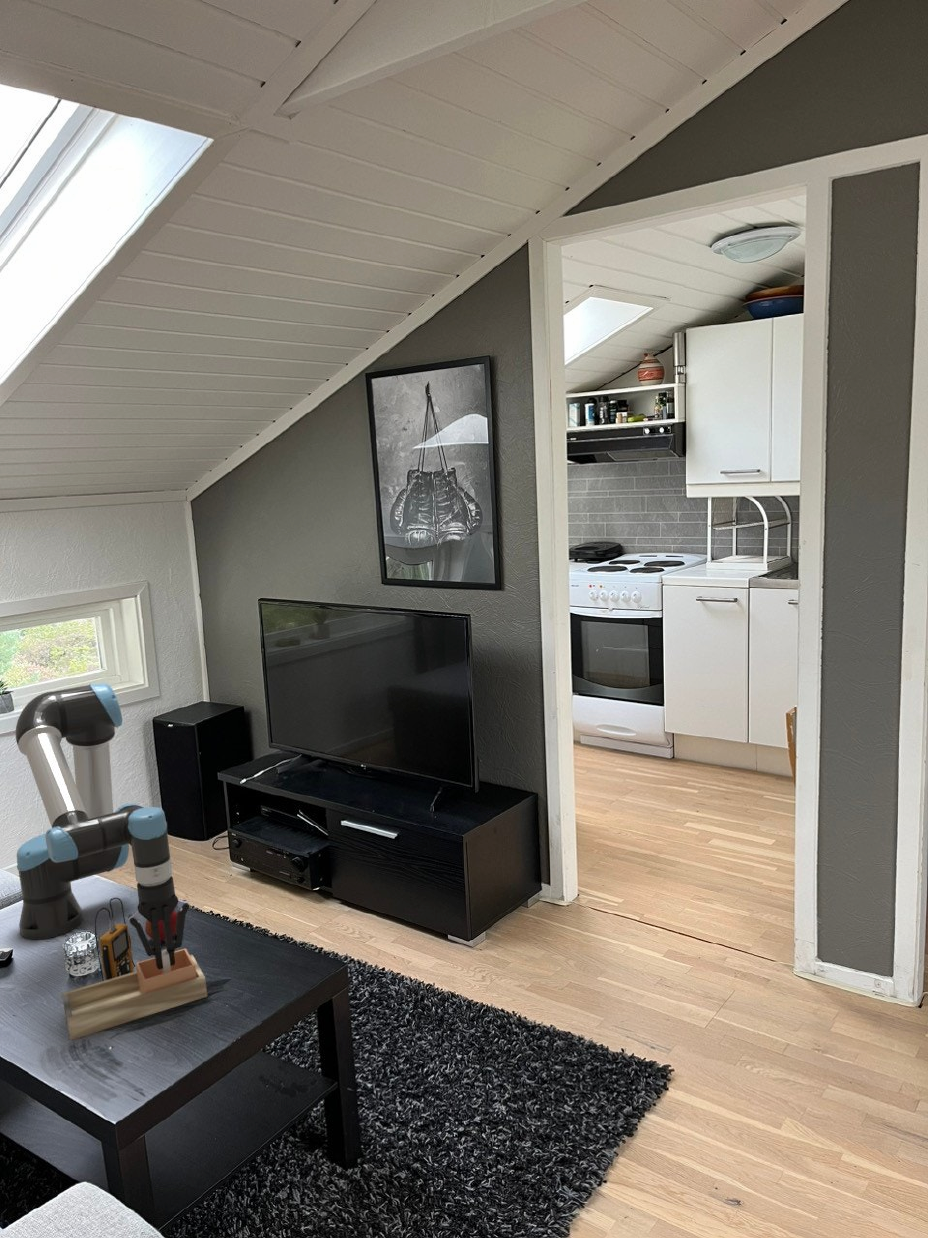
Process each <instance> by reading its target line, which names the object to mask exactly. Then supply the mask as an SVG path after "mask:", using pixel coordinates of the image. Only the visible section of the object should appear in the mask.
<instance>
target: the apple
mask: <svg viewBox="0 0 928 1238" xmlns="http://www.w3.org/2000/svg"><path fill="white" fill-rule="evenodd" d="M177 912H178V911H176V910H174V911H173V913H172V915H171V916H170V921H171V923H170V924H171V931H172V938H173V937H174V936H175V928H176V920H177ZM158 924H159V935H160V942H165V935H164V928H163V921H162V920H160V921H158ZM144 928H145V929H144V930H145V934H146V936H148V937H149V938H150V939H151V940H153V939H152V931H151V924H150V922H149V921H148V920H147V919H146V921H145V926H144Z"/></svg>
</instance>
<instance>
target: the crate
mask: <svg viewBox="0 0 928 1238" xmlns="http://www.w3.org/2000/svg"><path fill="white" fill-rule="evenodd" d="M174 951H175V950H174ZM190 955H191V954H190V953H189V951H188V949H187V948H186V947H185V948H182V949H179V950H176V951H175V952H174V957H175V965H172V966H171V971H170V972H167V973H164V974H162V969H158V968H157V966H156V960H155V956H154V957H152V958H148V959H144V960H141V961H139V962H135V967H136V968H135V969H136V971H137V977H138V984H139V989H140V992H141V994H146V993H149V992H152V991H155V990H159V989H162V988H165V987H168V986H171V985H175V984H178V983H181V982H184V981H188V980H191V979H194V978H197V976H196V968H195V964H194V962H193V960H192V958H191V957H190Z"/></svg>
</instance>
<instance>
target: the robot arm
mask: <svg viewBox="0 0 928 1238" xmlns="http://www.w3.org/2000/svg"><path fill="white" fill-rule="evenodd" d="M122 725H123V716H122V711H121V706H120V703H119V700H118V699H117V695H116V693H115V692H114V690H113V688H112V687H111V685H109V684H108V683H106V682H101V683H90V684H87V685H82V686H76V687H71V688H66V689H65V688H64V689H60V690H53V691H47V692H43V693H41V694H39V695H37V696H36V697H34V698H32V699H31V700H30V701H29V702H28V703H27V704H26V705H25V707H23V709H22V711H21V713H20V714H19V716H18V719H17V722H16V726H15V732H14V733H15V734H14V735H15V742H16V744H17V747H18V751H19V752H20V753H21V754H23V755H24V756H26V758H27V761H28V764H29V767H30V769H31V772H32V775H33V779H34V781H35V784H36V786H37V790H38V793H39V795H40V798H41V800H42V803H43V807H44V808H45V812H46V814H47V817H48V821H49V823H50V827H51V828H49V829H48V830H46V831H45V833H44V834H40V835H38V836H35V837H32V838H31V839H29V840H27V841H26V842H24V843H22V845H20V847H19V848H18V849H17V852H16V864H17V865H16V868H17V870H18V874H19V882H20V889H21V896H22V897H21V898H22V909H21V913H20V920H19V923H18V926H19V927H18V929H19V933H20V936H21V937H22V938H25V939H27V940H28V939H29V940H46V939H49V938H51V939H52V938H54V937H58V936H60V935H64V934H66V933H69V932H71V931H72V930H74V929H76V928H77V927H78V926H79V925H80V924H81V923H82V922H83V919H84V915H83V910H82V907H81V905H80V904H79V901H78V900H77V899H76V896H75V895H74V893H73V890H72V885H71V884H72V882H75V881H78V880H83V879H86V878H89V877H93V876H96V875H99V874H104V873H106V872H107V873H110V872H112V871H113V870H116V869H119V868H122V867H123V866H124V865H125V864H126V863H127V861H128V858H129V854H130V846H131V851H132V857H133V865H134V867H133V868H134V873H135V881H136V883H137V884H136V889H137V896H138V904H137V910H136V911H135V912H134V913H133V914H129V915H128V916H127V918H128V922H129V923H130V925H131V926H132V927H134V928H135V930H136V933H137V934H138V937H139V939H140V942H141V944H142V946H143V948H144V950H145V952H146V955H147V956H148V957H152V956H154V957H155V960H156V966H157V968H158V969H162V974H164V973H167V972H170V971H171V966H172V965H175V957H174V952H175V950H176V949H179V948H181V947H182V946H183V938H184V930H185V923H186V914H187V913H188V910H189V908H190V903H188V900H186V899H184V900H181V899H179V897H178V896H177V895H176V890H175V882H174V877H173V868H172V862H171V861H172V860H171V854H170V853H171V852H170V851H171V850H170V845H169V844H170V843H169V837H168V822H167V821H166V816H165V811H164V810H163V808H161V807H156V806H147V807H146V806H145V807H144V806H142V805H139V804H138V803H133V802H129V803H125V804H123V805H121V806H120V807H118V808H117V809H116V811H114V803H113V787H112V783H113V782H112V770H111V769H112V768H111V751H110V742H111V741H112V740H113V739H114V738H115V736H116V730H115V728H119V727H121V726H122ZM62 739H65V740H66V743H68V744H69V745H71V746H72V752H73V766H74V777H73V775H72V772H71V769H70V766H69V764H68V761H67V759H66V756H65V754H64V751H63V749H62V746H61V743H62ZM175 909H176V910H177V911H176V912H177V920H176V928H175V934H174V936H173V937H174V938H173V937H172V931H171V924H170V923H171V921H170V916H171V915H172V913H173V911H175ZM141 916H142V917H143V918H144V919H145V920H146V921H147V920H148V921H149V922H150V924H151V931H152V939H151V940H152V947H151V945H150V943H149V941H148V938H147V934H146V932H145V931H144V929H143V925H142V924H141V921H142V918H141ZM160 920H162V921H163V928H164V935H165V941H164V942H165V948H166V949H163V950H162V944H161V941H160V935H159V924H158V921H160Z"/></svg>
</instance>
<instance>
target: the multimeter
mask: <svg viewBox="0 0 928 1238" xmlns="http://www.w3.org/2000/svg"><path fill="white" fill-rule="evenodd" d="M113 900H119V902H120V904H121V910H122V917H123V922H124V924H123V923H122V924H120V923H116V921H115V917H114V913H113V912H114V911H113V906H112V904H111V903H112V901H113ZM109 906H110V910H109V909H108V908H107V907H102V908H100V909H99V910H98V911H97V913H96V914H95V918H94V935H95V944H96V951H97V952H96V953H97V958H98V962H99V963H98V964H99V968H100V975H101V980H102V981H105V980H109V979H112V978H115V977H119V976H122V975H126V974H129V973H132V972H135V970H134V967H136V963H134V960H133V954H132V953H133V951H132V944H131V943H132V942H131V936H130V933H129V926H128V924H127V923H126V919H125V911H124V904H123V901H122V900H121V899H120V898H119V897H113V898H110V899H109ZM102 910H106V911H107V912H108V917H109V930H108V931H107V932H105V933H104V934H103V935H102V936H101V937H100V938H99V943H98V937H97V919H98V915H99V913H100V912H101V911H102ZM110 911H111V912H110ZM111 917H112V918H111ZM98 944H99V945H98ZM99 946H100V950H99ZM99 951H100V952H99ZM100 953H101V954H100ZM100 955H101V957H100ZM101 963H102V964H101ZM102 967H103V968H102ZM102 981H101V982H102Z"/></svg>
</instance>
